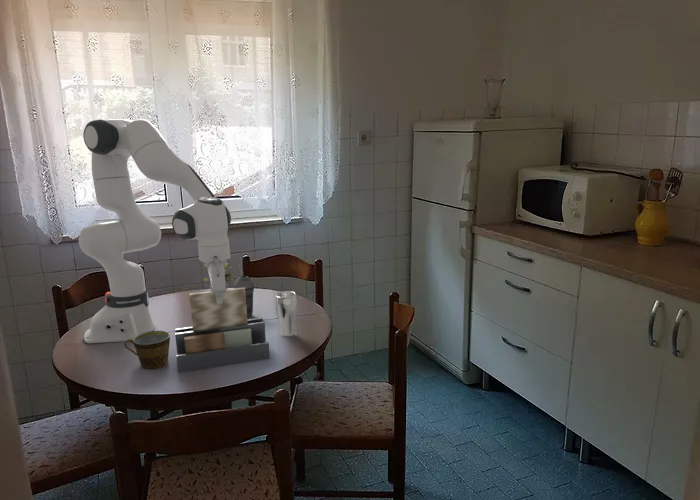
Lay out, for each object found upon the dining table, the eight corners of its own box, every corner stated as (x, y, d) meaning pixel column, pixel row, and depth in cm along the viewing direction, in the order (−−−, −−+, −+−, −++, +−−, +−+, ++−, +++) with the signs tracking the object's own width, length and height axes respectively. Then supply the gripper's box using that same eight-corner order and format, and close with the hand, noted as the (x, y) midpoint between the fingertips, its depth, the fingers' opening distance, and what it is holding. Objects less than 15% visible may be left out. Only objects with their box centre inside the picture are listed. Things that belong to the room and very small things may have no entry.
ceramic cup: (177, 360, 158) (174, 330, 156) (166, 376, 148) (163, 343, 146) (134, 361, 158) (130, 331, 156) (121, 377, 148) (116, 345, 146)
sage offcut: (222, 359, 155) (220, 334, 153) (221, 357, 157) (219, 332, 155) (252, 355, 157) (251, 330, 156) (251, 352, 159) (250, 328, 157)
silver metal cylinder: (300, 339, 172) (298, 296, 168) (279, 342, 170) (277, 298, 166) (296, 331, 178) (294, 290, 175) (276, 334, 176) (273, 292, 173)
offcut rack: (178, 377, 148) (175, 343, 145) (178, 361, 158) (175, 328, 155) (270, 363, 155) (268, 330, 153) (264, 348, 166) (262, 317, 163)
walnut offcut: (187, 368, 149) (184, 339, 147) (187, 365, 151) (184, 337, 149) (226, 363, 153) (224, 334, 151) (225, 360, 155) (223, 331, 152)
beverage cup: (251, 320, 189) (248, 267, 184) (233, 319, 190) (229, 266, 186) (259, 313, 196) (255, 262, 191) (240, 312, 197) (237, 261, 192)
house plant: (202, 309, 201) (198, 269, 197) (196, 299, 213) (192, 260, 209) (238, 303, 207) (235, 264, 203) (231, 293, 219) (228, 256, 215)
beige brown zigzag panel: (195, 358, 156) (189, 294, 151) (195, 356, 158) (189, 293, 153) (249, 350, 161) (245, 288, 156) (248, 348, 162) (244, 287, 157)
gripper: (228, 260, 143) (232, 308, 146) (222, 244, 162) (226, 287, 165) (205, 262, 141) (209, 310, 144) (201, 246, 160) (205, 289, 163)
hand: (218, 298), depth 155 cm, fingers open, 8 cm apart
